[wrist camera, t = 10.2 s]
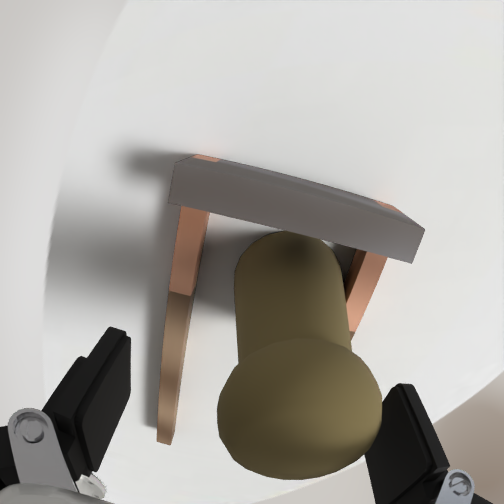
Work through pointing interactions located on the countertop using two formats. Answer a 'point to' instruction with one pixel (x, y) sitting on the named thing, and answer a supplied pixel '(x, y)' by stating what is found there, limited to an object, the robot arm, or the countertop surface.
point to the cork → (295, 365)
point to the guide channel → (278, 216)
